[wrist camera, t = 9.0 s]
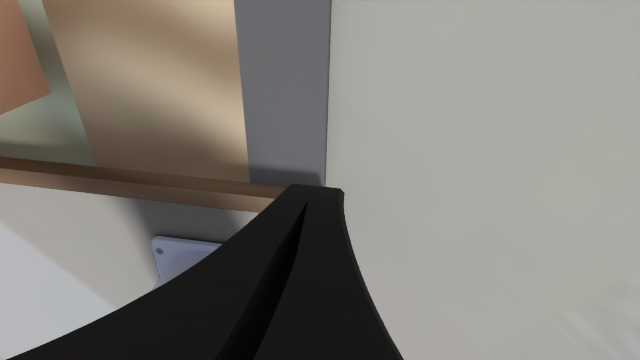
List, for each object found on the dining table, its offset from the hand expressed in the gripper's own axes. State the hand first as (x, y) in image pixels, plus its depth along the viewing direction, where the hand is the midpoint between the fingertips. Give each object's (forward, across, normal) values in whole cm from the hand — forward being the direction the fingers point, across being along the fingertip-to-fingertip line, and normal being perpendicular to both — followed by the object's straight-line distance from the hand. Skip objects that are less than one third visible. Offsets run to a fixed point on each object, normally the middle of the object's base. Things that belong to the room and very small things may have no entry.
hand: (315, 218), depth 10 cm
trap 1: (+9, +3, -2) cm, 10 cm away
